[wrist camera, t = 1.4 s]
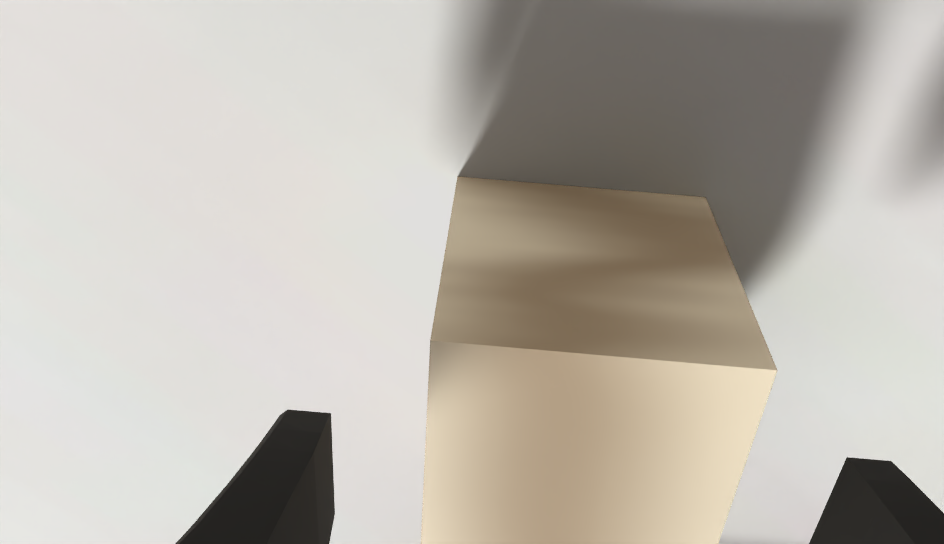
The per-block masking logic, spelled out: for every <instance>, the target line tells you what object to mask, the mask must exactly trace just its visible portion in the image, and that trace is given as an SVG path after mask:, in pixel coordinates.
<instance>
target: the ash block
mask: <svg viewBox="0 0 944 544" xmlns="http://www.w3.org/2000/svg"><path fill="white" fill-rule="evenodd" d="M776 373H777V368H776V366H775V363H774V361H773V359H772V356H771V354H770V351H769V349H768V347H767V344H766V342H765V339H764V337H763V334H762V332H761V330H760V327H759V325H758V322H757V320H756V318H755V315H754V313H753V310H752V308H751V306H750V303H749V301H748V298H747V296H746V293H745V291H744V289H743V286H742V284H741V281H740V279H739V277H738V274H737V272H736V269H735V267H734V265H733V262H732V260H731V257H730V255H729V252H728V250H727V248H726V245H725V243H724V240H723V238H722V236H721V233H720V231H719V228H718V226H717V223H716V221H715V219H714V216H713V214H712V211H711V209H710V207H709V204H708V202H707V199H706V197H697V196H685V195H673V194H661V193H649V192H637V191H625V190H613V189H601V188H589V187H578V186H566V185H554V184H542V183H530V182H518V181H506V180H494V179H482V178H470V177H457V183H456V189H455V195H454V201H453V207H452V213H451V219H450V225H449V231H448V237H447V243H446V249H445V255H444V261H443V267H442V273H441V279H440V286H439V292H438V298H437V304H436V310H435V316H434V322H433V328H432V334H431V340H430V360H429V381H428V402H427V423H426V445H425V466H424V487H423V508H422V530H421V544H718V543H719V540H720V537H721V534H722V531H723V528H724V525H725V522H726V519H727V516H728V513H729V510H730V508H731V505H732V502H733V499H734V496H735V493H736V490H737V487H738V484H739V481H740V478H741V475H742V472H743V470H744V467H745V464H746V461H747V458H748V455H749V452H750V449H751V446H752V443H753V440H754V437H755V435H756V432H757V429H758V426H759V423H760V420H761V417H762V414H763V411H764V408H765V405H766V402H767V399H768V397H769V394H770V391H771V388H772V385H773V382H774V379H775V376H776Z"/></svg>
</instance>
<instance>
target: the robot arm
mask: <svg viewBox="0 0 944 544" xmlns="http://www.w3.org/2000/svg"><path fill="white" fill-rule="evenodd" d="M334 515H335V509H334V483H333V458H332V432H331V413H320V412H309V411H297V410H287V411H285V412H284V413H282V414H281V415H280V416H279V417H278V419H277V420H276V422H275V423H274V425H273V426H272V427H271V429H270V430H269V431H268V433H267V434H266V436H265V437H264V438H263V440H262V441H261V442H260V444H259V445H258V446H257V448H256V449H255V450H254V452H253V453H252V454H251V455H250V457H249V458H248V459H247V461H246V462H245V463H244V464H243V466H242V467H241V468H240V469H239V471H238V472H237V473H236V474H235V476H234V477H233V478H232V479H231V481H230V482H229V483H228V484H227V486H226V487H225V488H224V489H223V490H222V491H221V493H220V494H219V495H218V496H217V497H216V498H215V500H214V501H213V502H212V503H211V504H210V505H209V507H208V508H207V509H206V510H205V511H204V512H203V514H202V515H201V516H200V517H199V518H198V520H197V521H196V522H195V523H194V524H193V525H192V526H191V528H190V529H189V530H188V531H187V532H186V533H185V534H184V535H183V536H182V537H181V538H180V540H179V541H178V542H177V543H176V544H329V541H330V536H331V530H332V525H333V520H334ZM809 544H944V513H943V512H942V511H941V510H940V509H939V508H938V507H937V506H936V505H935V504H934V503H933V502H932V501H931V500H930V499H929V498H928V497H927V496H926V495H925V494H924V493H923V492H922V491H921V490H920V489H919V488H918V487H917V486H916V485H915V484H914V483H913V482H912V481H911V480H910V479H909V478H908V477H907V476H906V475H905V474H904V473H903V472H902V471H901V470H900V469H899V468H898V467H897V466H896V465H894V464H893V463H892V462H891V461H882V460H871V459H859V458H846V461H845V463H844V465H843V467H842V470H841V472H840V474H839V477H838V479H837V481H836V484H835V486H834V488H833V490H832V493H831V495H830V497H829V500H828V502H827V504H826V506H825V509H824V511H823V513H822V516H821V518H820V520H819V522H818V525H817V527H816V529H815V532H814V534H813V536H812V538H811V541H810V543H809Z"/></svg>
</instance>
